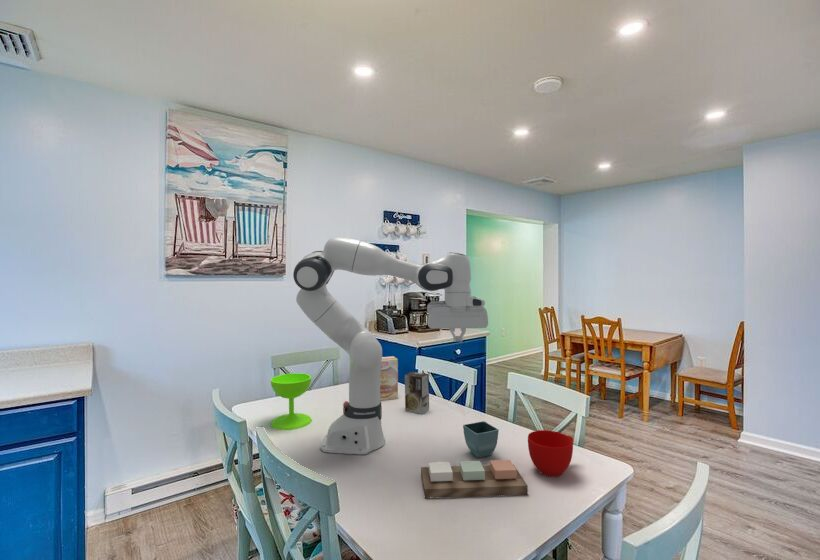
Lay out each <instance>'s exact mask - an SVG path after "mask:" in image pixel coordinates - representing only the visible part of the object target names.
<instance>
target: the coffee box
mask: <svg viewBox="0 0 820 560" xmlns="http://www.w3.org/2000/svg"><path fill="white" fill-rule="evenodd" d="M429 379H430V374H429V373H425V372H424V373H423V372H417V371H410V372H408V373H406V374H404V402H405V403H404V404H405V405H404V406H405V408H404V409H405V410H404V411H405V412H409V413H413V414H414V413H415V414H418V415H420V414H421V415H423V414H425V413H427V412H430V380H429Z"/></svg>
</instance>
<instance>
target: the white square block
mask: <svg viewBox="0 0 820 560" xmlns="http://www.w3.org/2000/svg"><path fill="white" fill-rule="evenodd" d="M451 466H452V465H451V463H450V461H436V462H432V461H431V462H428V467H429V474H430V479H431V482H432V481H433V482H448V481H453V472H452V469H451Z"/></svg>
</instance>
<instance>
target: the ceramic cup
mask: <svg viewBox="0 0 820 560" xmlns="http://www.w3.org/2000/svg"><path fill="white" fill-rule="evenodd" d="M527 446H528V452H529V453H528V454H529V458H530V460H531V461H532V464H533V466H534V467H535V468H536V469H537V470H538V472H539V473H540V474H542V475H543V476H547V477H551V478H552V477H553V478H556V477H561V476H562V474H563V473H565V471H566V470H567V469H568V468H569V467H570V464H571V462H572V458H573V452H574V438H573V437H572V436H571V435H567V434H564V433H562V432H558V431H555V430H554V431H553V430H548V429H547V430H546V429H545V430H544V429H542V430H541V429H540V430H535V431H531V432H530V433H528V435H527Z"/></svg>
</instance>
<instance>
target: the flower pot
mask: <svg viewBox="0 0 820 560" xmlns="http://www.w3.org/2000/svg"><path fill="white" fill-rule="evenodd" d="M462 428H463V435H464V436H463V437H464V441H465V443H466V446H467V448H468V450H469V452H470V453H472V454H473V455H474V456H475V457H477V458H484V457H488V456H491V455H492V454H493V453H494V451H495V449H496V448H497V444H498V439H499V430H500V429H499V428H497V427H495V426H494V425H492V424H489V423H488V422H487V421H485V420H482V421H477V422H471V423H466V424H463V425H462Z"/></svg>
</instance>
